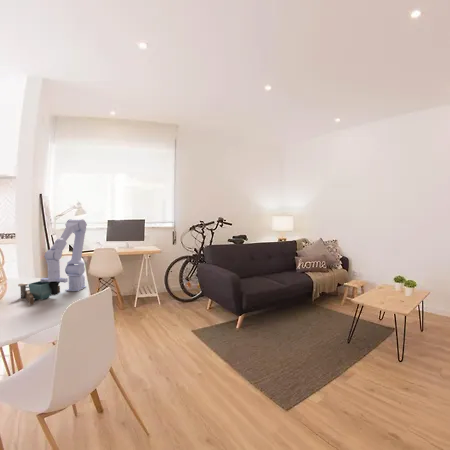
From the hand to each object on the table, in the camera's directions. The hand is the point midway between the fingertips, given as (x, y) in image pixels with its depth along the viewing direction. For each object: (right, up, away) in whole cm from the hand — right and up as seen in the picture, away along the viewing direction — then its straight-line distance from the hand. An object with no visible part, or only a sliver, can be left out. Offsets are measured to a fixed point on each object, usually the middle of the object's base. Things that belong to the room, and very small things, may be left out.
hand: (54, 294), depth 153 cm
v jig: (-12, -2, 0) cm, 12 cm away
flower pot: (-7, -2, -1) cm, 7 cm away
